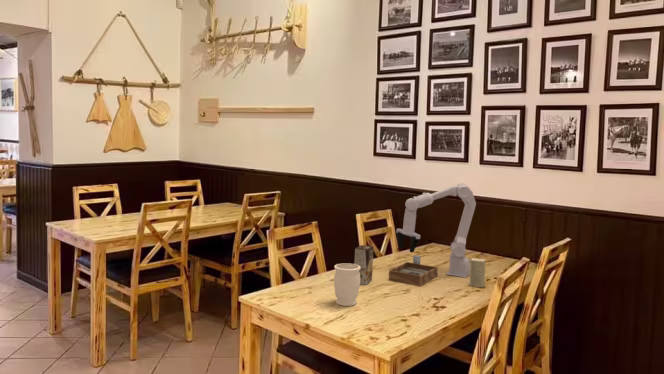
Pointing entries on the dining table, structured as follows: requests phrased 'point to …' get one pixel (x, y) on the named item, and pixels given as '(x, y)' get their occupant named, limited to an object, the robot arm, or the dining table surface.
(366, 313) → the dining table surface
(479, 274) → the skincare box
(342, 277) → the jar
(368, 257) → the coffee box
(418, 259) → the peg
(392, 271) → the box
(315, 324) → the dining table surface
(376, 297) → the dining table surface
